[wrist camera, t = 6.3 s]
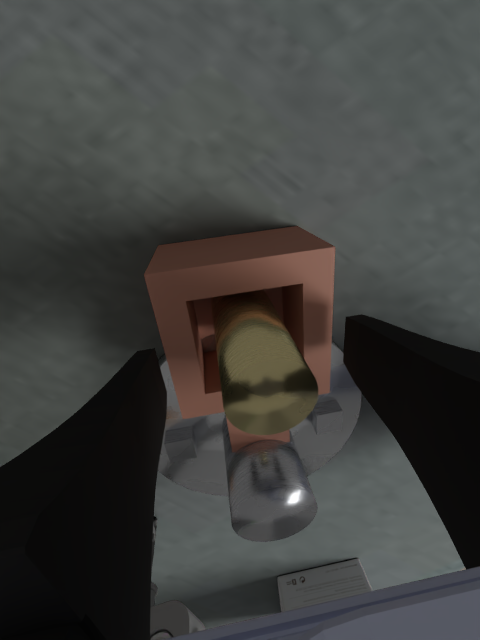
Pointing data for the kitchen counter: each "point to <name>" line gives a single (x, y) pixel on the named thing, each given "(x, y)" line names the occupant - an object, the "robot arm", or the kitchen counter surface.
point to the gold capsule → (260, 366)
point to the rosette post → (260, 457)
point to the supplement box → (322, 584)
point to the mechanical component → (170, 613)
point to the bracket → (230, 278)
